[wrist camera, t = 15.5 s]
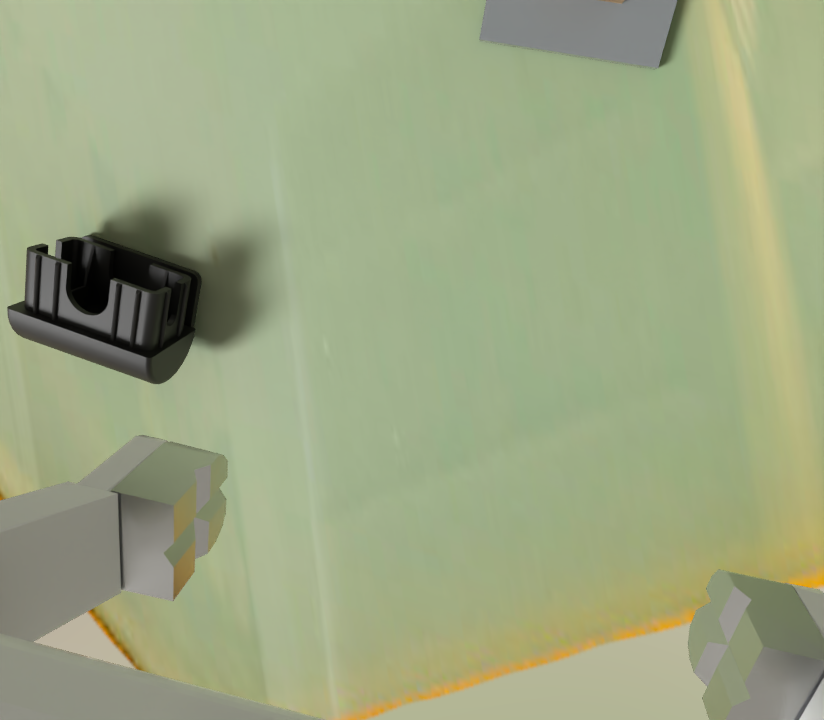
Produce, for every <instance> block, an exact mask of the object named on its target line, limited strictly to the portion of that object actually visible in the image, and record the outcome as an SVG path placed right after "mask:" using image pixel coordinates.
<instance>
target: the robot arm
mask: <svg viewBox="0 0 824 720" xmlns="http://www.w3.org/2000/svg"><path fill="white" fill-rule="evenodd" d="M227 465H228V461H227V459H226V457H225V456H224V455H222V454H218V453H214V452H210V451H206V450H202V449H198V448H194V447H191V446H187V445H183V444H179V443H175V442H168V441H167V440H162V439H158V438H154V437H149V436H145V435H141V436H135V437H134V438H133V439H131V440H130V441H129V442H128V443H126V444H125V445H124V446H123V447H122V448H120V449H119V450H118V451H117V452H115V453H114V454H113V455H112V456H110V457H109V458H108V459H107V460H106V461H104V462H103V463H102V464H101V465H99V466H98V467H97V468H96V469H94V470H93V471H92V472H91V473H90V474H88V475H87V476H86V477H85V478H83V479H82V480H81V481H80V482H78V483H72V482H65V483H61V484H58V485H54V486H51V487H47V488H44V489H40V490H36V491H33V492H29V493H26V494H22V495H19V496H15V497H12V498H8V499H4V500H1V501H0V720H325V719H321V718H317V717H313V716H310V715H306V714H302V713H298V712H295V711H291V710H287V709H283V708H280V707H276V706H272V705H268V704H264V703H261V702H257V701H253V700H249V699H246V698H242V697H238V696H234V695H231V694H227V693H223V692H219V691H215V690H212V689H208V688H204V687H200V686H197V685H193V684H189V683H185V682H182V681H178V680H174V679H170V678H167V677H163V676H159V675H155V674H151V673H148V672H144V671H140V670H136V669H133V668H128V667H125V666H121V665H117V664H114V663H110V662H106V661H103V660H99V659H95V658H91V657H87V656H84V655H80V654H76V653H72V652H69V651H64V650H61V649H57V648H53V647H49V646H46V645H42V644H38V643H35V642H34V641H35V640H37V639H39V638H41V637H43V636H44V635H46V634H48V633H49V632H52V631H53V630H55V629H57V628H59V627H60V626H62V625H64V624H66V623H68V622H69V621H71V620H73V619H75V618H77V617H78V616H80V615H82V614H84V613H86V612H87V611H89V610H91V609H93V608H94V607H96V606H98V605H100V604H102V603H103V602H105V601H107V600H109V599H111V598H112V597H114V596H116V595H118V594H119V593H121V590H125V591H130V592H134V593H139V594H143V595H148V596H152V597H157V598H161V599H166V600H170V601H174V599H175V598H176V597H177V595H178V594H179V592H180V591H181V590H182V588H183V587H184V586H185V584H186V583H187V581H188V580H189V579H190V577H191V576H192V575H193V573H194V571H195V559H196V558H198V557H201V556H203V555H205V554H207V553H208V552H209V551H210V549H211V548H212V546H213V545H214V543H215V542H216V540H217V538H218V535H219V533H220V530H221V528H222V526H223V521H224V517H225V512H226V498H225V496H224V495H223V493H222V491H221V490H220V488H219V487H220V486H221V485H222V483H223V482H224V481H225V480H226V478H227ZM706 590H707V592H708V595H709V597H710V600H711V602H710V603H708V604H706V605H705V606H703V607H701V608H699V609H698V610H696V612H695V615H694V617H693V620H692V623H691V625H690V630H689V640H688V649H689V657H690V661H691V665H692V668H693V671H694V673H695V674H696V675H697V676H698V677H699V678H700V679H701V681H702V682H703V683H704V684H705V685H706V686H707V689H706V691H705V693H704V695H703V697H702V699H703V702H704V705H705V708H706V711H707V714H708V717H709V720H824V593H823V592H822V591H820V590H818V589H813V588H808V587H803V586H798V585H793V584H788V583H785V584H784V583H779V582H775V581H770V580H766V579H761V578H756V577H752V576H747V575H743V574H738V573H733V572H729V571H724V570H720V569H718V570H717V572H716V573H715V574H714V575H713V576H712V577H711V579H710V581H709V583H708V585H707V588H706Z"/></svg>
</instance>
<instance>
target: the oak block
mask: <svg viewBox="0 0 824 720" xmlns="http://www.w3.org/2000/svg"><path fill="white" fill-rule="evenodd" d="M600 1H606V2H613V3H619V4H622V3H623V1H624V0H600Z"/></svg>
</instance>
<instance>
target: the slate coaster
mask: <svg viewBox="0 0 824 720" xmlns="http://www.w3.org/2000/svg"><path fill="white" fill-rule="evenodd" d="M676 3H677V0H624V1H623V3H622V4H619V3H613V2H606V1H600V0H486V6H485V11H484V17H483V22H482V28H481V34H480V39H479V40H480V41H482V42H488V43H494V44H501V45H507V46H513V47H519V48H525V49H532V50H538V51H544V52H550V53H557V54H563V55H569V56H575V57H581V58H588V59H594V60H600V61H606V62H612V63H619V64H625V65H631V66H637V67H643V68H650V69H657V68H658V67H659V63H660V60H661V56H662V53H663V49H664V45H665V42H666V38H667V35H668V31H669V28H670V24H671V21H672V17H673V14H674V10H675V7H676Z"/></svg>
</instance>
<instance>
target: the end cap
mask: <svg viewBox="0 0 824 720" xmlns="http://www.w3.org/2000/svg"><path fill="white" fill-rule="evenodd" d="M200 288H201V276H200V275H199V273H197V272H196V271H193V270H190V269H187V268H184V267H182V266H179V265H176V264H173V263H170V262H167V261H164V260H161V259H159V258H156V257H153V256H150V255H147V254H144V253H141V252H138V251H136V250H133V249H130V248H127V247H124V246H121V245H118V244H115V243H113V242H110V241H107V240H104V239H101V238H98V237H95V236H92V235H88V236H84V237H82V238H78V237H67V238H63V239H59V240H56V253H55V257H54V256H51V255H48V245H45V244H39V245H35V246H31V247H28V248H27V260H26V282H25V301H22V302H19V303H17V304H14V305H11V306H8V307H7V308H8V318H9V322H10V324H11V326H12V328H13V330H14V331H15V332H16V333H17V334H18V335H20V336H22V337H23V338H26V339H29V340H32V341H34V342H37V343H40V344H43V345H46V346H48V347H51V348H54V349H57V350H60V351H63V352H65V353H68V354H71V355H74V356H77V357H79V358H82V359H85V360H88V361H91V362H94V363H96V364H99V365H102V366H105V367H108V368H110V369H113V370H116V371H119V372H122V373H125V374H127V375H130V376H133V377H136V378H139V379H141V380H144V381H147V382H150V383H153V384H161V383H164V382H166V381H167V380H169V379H170V378H171V377H172V376H173V375H174V374H175V373H176V372H177V371H178V369H179V368H180V366H181V365H182V363H183V362H184V360H185V358H186V356H187V354H188V352H189V349H190V347H191V344H192V341H193V338H194V333H195V329H194V328H193V326H194V323H195V317H196V311H197V305H198V299H199V294H200Z"/></svg>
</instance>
